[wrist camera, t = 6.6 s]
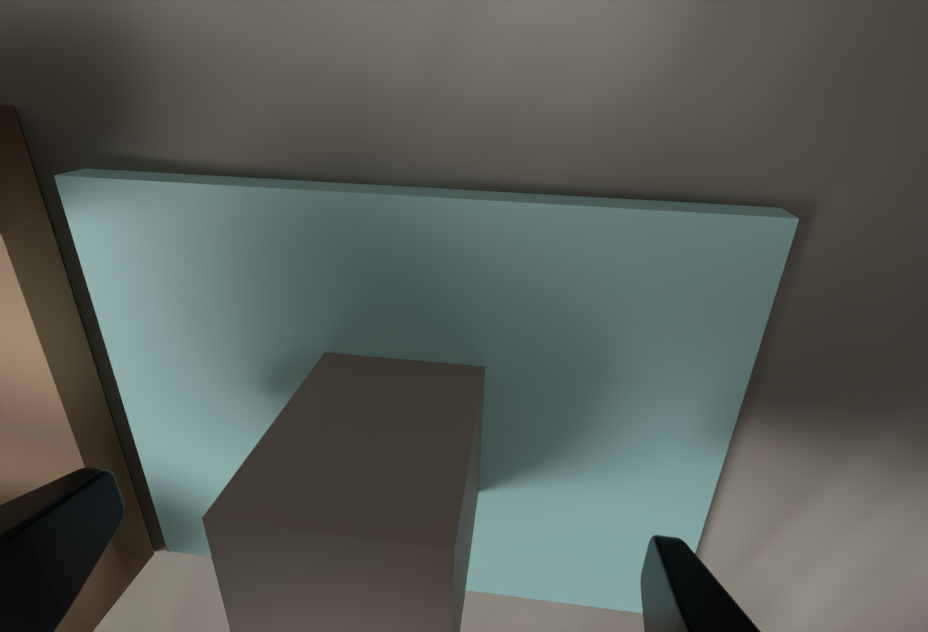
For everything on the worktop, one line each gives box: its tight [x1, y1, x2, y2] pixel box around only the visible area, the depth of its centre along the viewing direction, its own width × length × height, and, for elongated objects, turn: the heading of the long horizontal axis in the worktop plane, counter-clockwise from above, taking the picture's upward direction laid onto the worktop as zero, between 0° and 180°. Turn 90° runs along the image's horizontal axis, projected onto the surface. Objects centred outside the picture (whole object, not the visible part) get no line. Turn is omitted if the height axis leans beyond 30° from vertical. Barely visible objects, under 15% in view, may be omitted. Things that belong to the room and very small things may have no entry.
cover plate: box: [54, 168, 799, 632], centre depth 9 cm, size 9×12×5 cm
